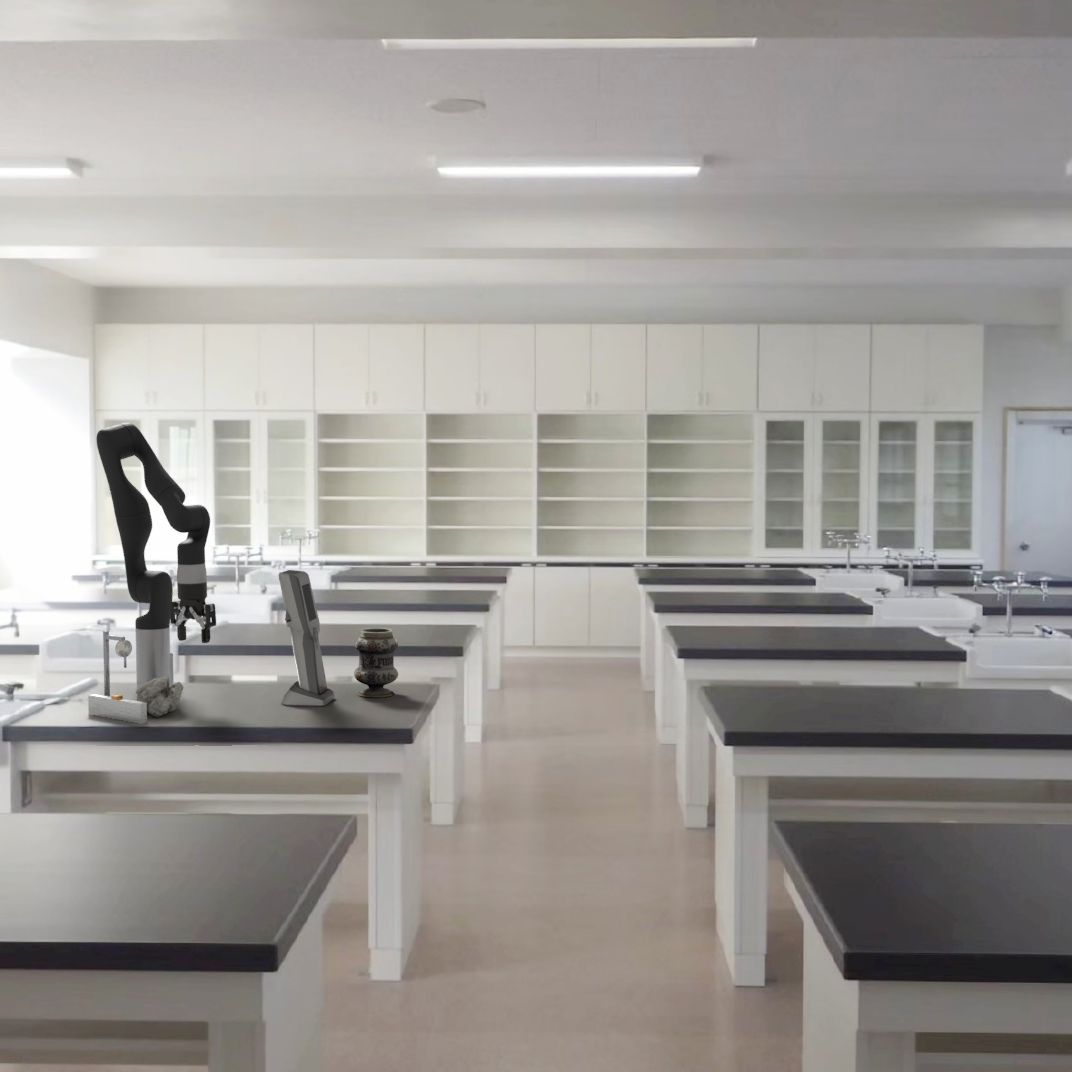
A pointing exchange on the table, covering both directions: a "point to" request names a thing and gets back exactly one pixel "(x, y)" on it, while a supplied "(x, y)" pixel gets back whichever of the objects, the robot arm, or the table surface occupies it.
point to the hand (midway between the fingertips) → (193, 641)
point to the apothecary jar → (376, 661)
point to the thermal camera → (304, 642)
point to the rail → (118, 708)
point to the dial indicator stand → (121, 650)
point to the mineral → (160, 695)
